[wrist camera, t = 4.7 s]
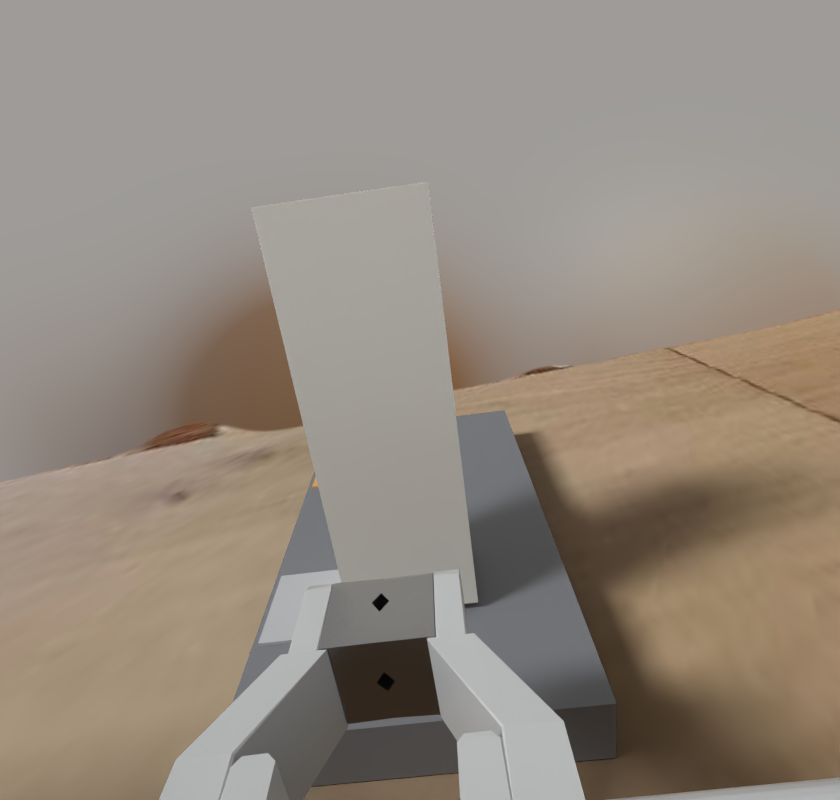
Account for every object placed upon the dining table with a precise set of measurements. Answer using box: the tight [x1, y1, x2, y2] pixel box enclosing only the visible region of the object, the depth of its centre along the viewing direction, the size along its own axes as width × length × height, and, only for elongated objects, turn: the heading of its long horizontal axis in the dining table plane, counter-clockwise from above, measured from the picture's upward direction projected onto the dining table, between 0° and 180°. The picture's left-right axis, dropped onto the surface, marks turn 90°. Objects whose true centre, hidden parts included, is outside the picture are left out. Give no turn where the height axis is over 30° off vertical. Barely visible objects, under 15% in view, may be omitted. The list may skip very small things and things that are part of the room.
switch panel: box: [233, 411, 617, 786], centre depth 22 cm, size 18×10×2 cm, turn 0°
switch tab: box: [251, 182, 478, 604], centre depth 15 cm, size 3×4×12 cm
